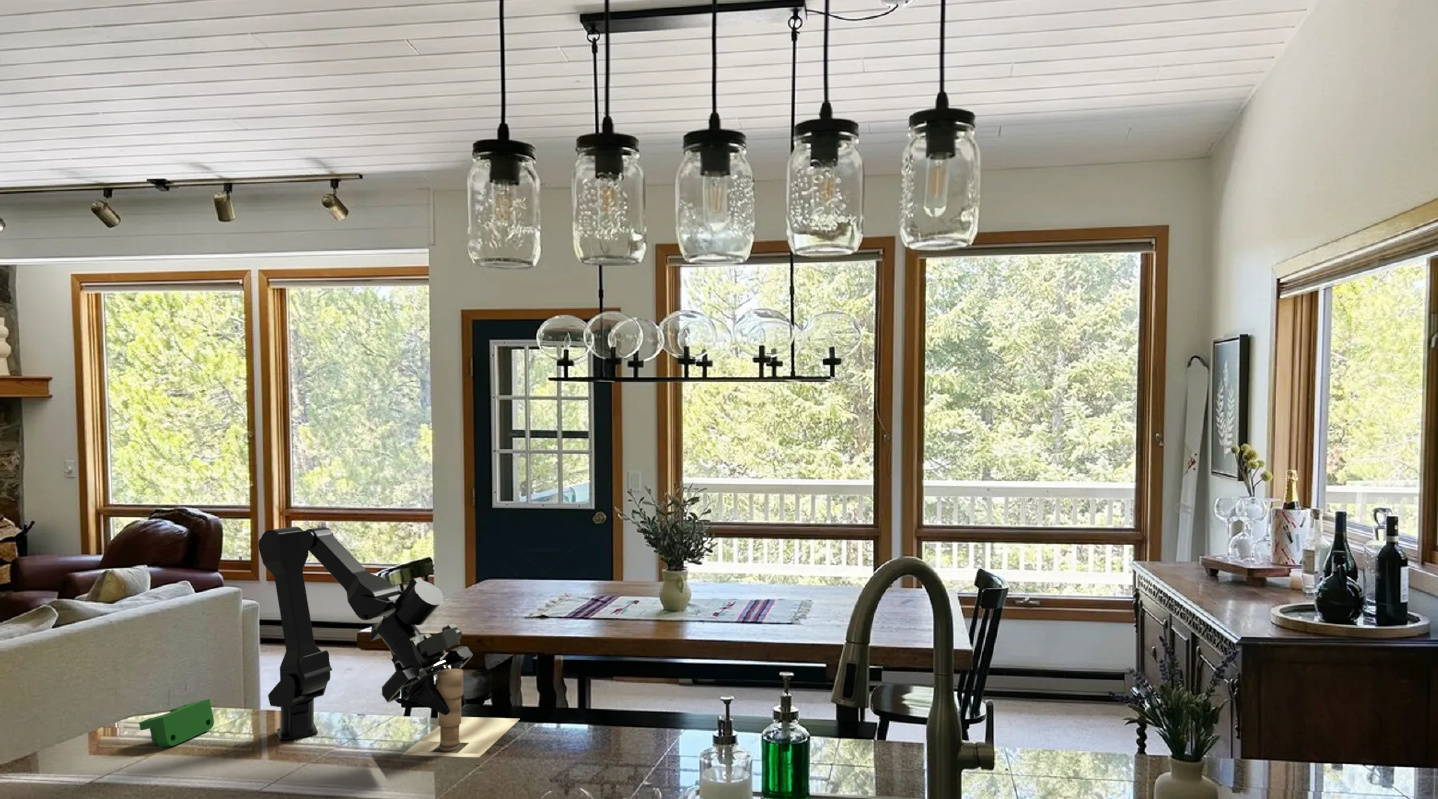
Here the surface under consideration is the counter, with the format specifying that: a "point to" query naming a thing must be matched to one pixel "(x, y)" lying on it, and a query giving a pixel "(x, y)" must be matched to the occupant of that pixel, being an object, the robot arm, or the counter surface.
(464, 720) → the board
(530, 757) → the counter surface
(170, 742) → the green mounting bracket
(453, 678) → the peg
